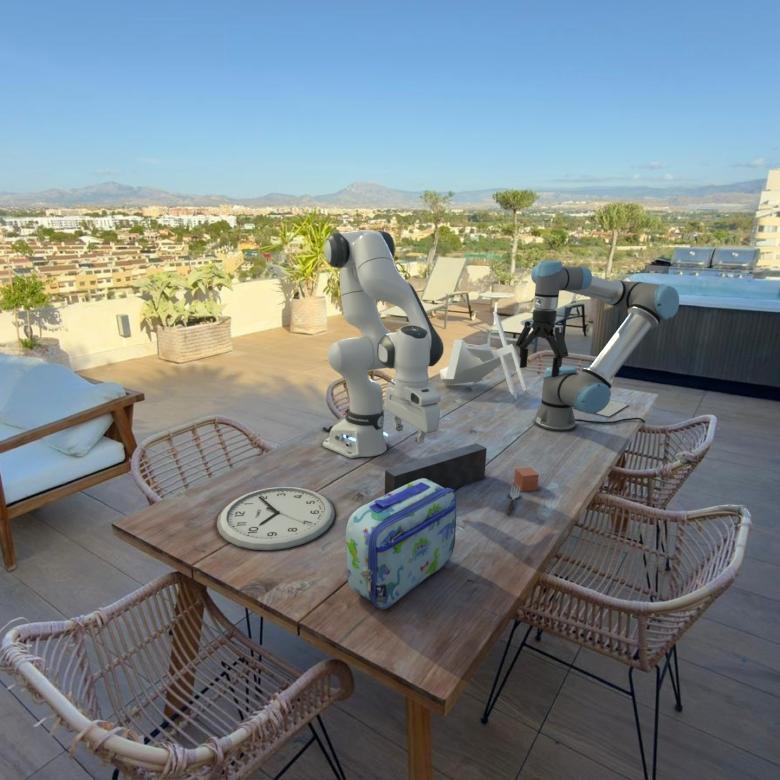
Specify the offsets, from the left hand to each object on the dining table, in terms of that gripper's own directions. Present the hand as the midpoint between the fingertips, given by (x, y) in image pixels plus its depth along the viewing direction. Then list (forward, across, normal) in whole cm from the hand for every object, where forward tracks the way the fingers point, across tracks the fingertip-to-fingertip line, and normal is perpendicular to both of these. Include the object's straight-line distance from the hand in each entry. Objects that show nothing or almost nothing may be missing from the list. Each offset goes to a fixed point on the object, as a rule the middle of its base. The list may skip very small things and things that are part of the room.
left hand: (408, 436), depth 142 cm
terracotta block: (+18, +15, +33) cm, 41 cm away
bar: (+18, +2, +10) cm, 21 cm away
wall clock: (+19, -9, -35) cm, 41 cm away
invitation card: (+20, -17, +118) cm, 120 cm away
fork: (+18, +20, +22) cm, 35 cm away
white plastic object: (+21, -60, +87) cm, 108 cm away
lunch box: (+17, +30, -23) cm, 41 cm away
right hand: (-8, -7, +60) cm, 60 cm away
